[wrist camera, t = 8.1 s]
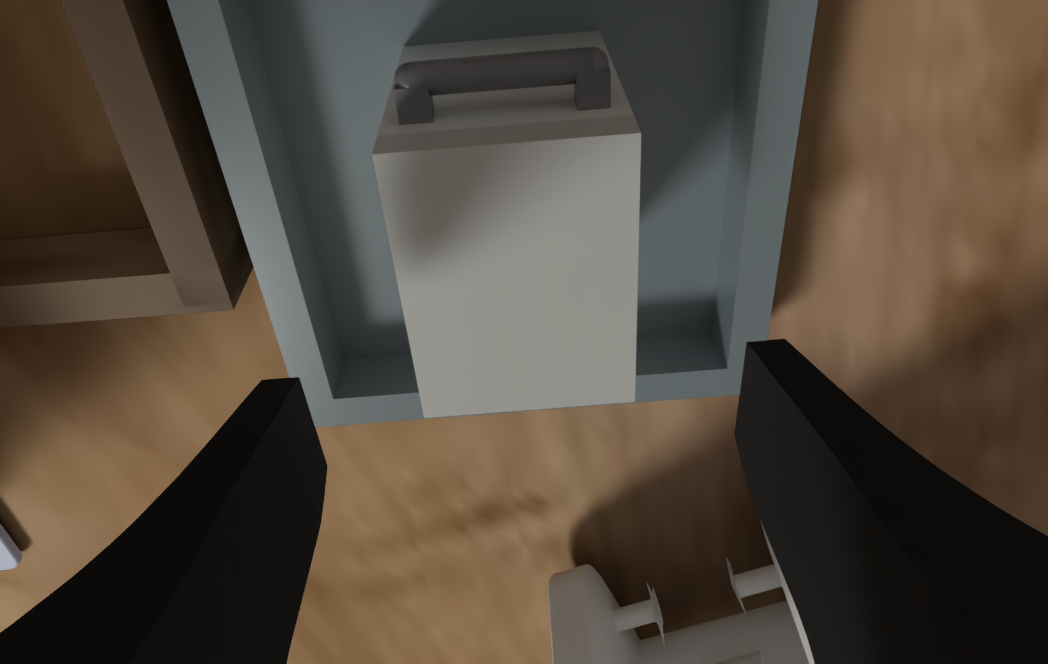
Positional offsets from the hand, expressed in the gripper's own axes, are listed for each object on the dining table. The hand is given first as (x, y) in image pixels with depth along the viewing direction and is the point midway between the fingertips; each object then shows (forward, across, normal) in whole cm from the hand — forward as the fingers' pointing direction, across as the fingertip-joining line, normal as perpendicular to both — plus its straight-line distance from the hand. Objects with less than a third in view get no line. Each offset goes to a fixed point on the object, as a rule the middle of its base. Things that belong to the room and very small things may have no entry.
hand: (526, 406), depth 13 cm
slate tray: (+9, 0, 0) cm, 9 cm away
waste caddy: (+9, 0, 0) cm, 9 cm away
